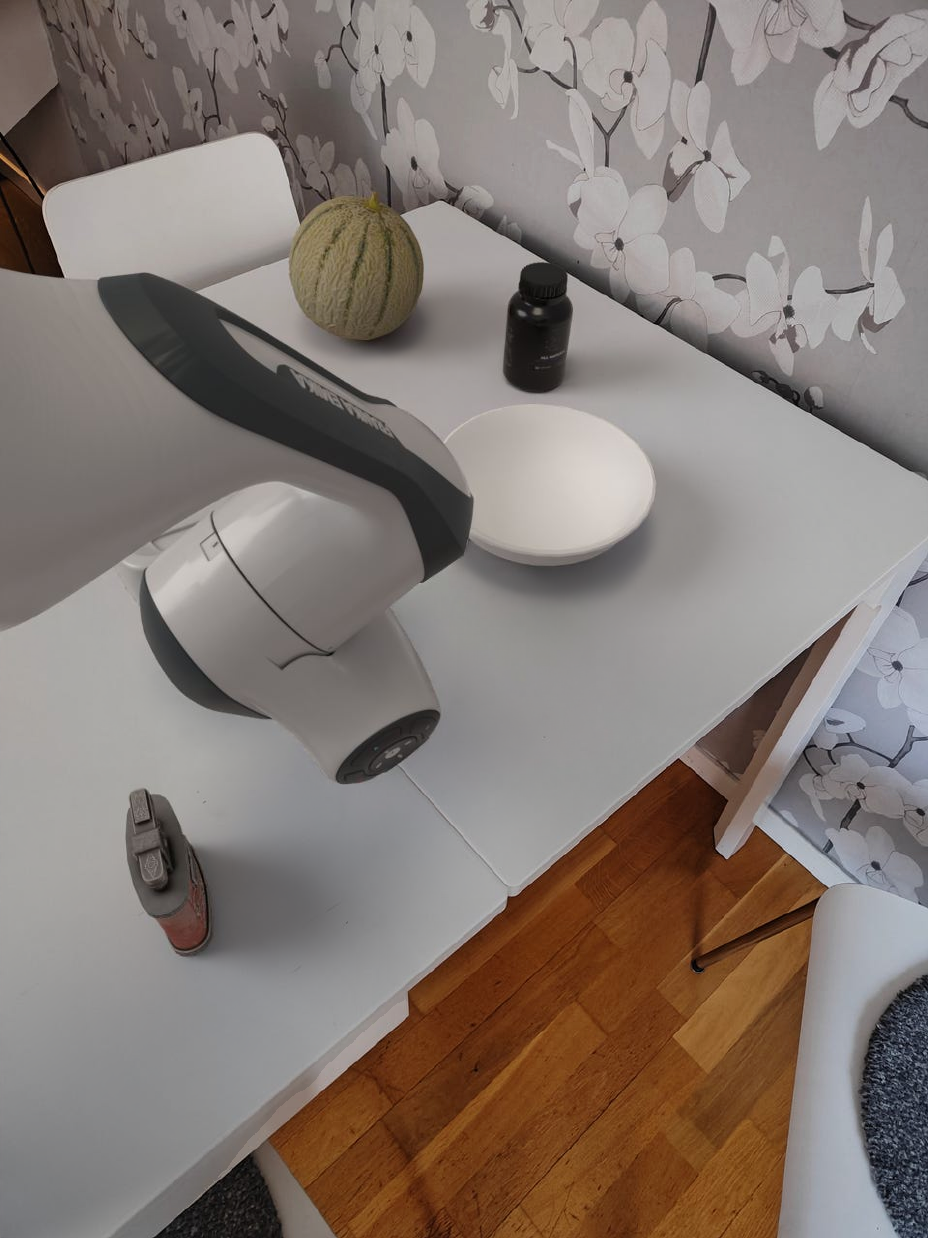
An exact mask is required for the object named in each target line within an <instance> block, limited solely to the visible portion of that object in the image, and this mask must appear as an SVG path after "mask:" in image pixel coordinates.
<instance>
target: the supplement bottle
mask: <svg viewBox="0 0 928 1238" xmlns="http://www.w3.org/2000/svg"><path fill="white" fill-rule="evenodd" d="M568 277H569V275H568V273H567V271H566V270H565V269H564V268H563V267H561V266H560V265H557V264H555V263H552V262H548V261H547V262H545V261H540V262H539V261H538V262H532V263H529V264H526V265H525V266H523V268H522V269H521V271H520V275H519V282H518V287H517V291H515V292H514V293H513V295H511V297H510V298H509V301H508V302H507V311H506V322H505V323H506V324H505V333H504V334H505V335H504V337H505V338H504V349H503V363H502V374H503V375H504V378H505V380H506V381H507V382H508V383H509V384H510V385H511V386H513V387H515V388H516V389H518V390H522V391H526V392H531V393H540V392H546V391H549V390H552V389H554V388H555V387H557V386H558V385H559V384H560V383H561V382H562V381H563V379H564V376H565V371H566V366H567V357H568V350H569V343H570V336H571V330H572V322H573V316H574V306H573V303H572V300H571V299H570V297H569V296H568V295H567V292H568V279H569V278H568Z"/></svg>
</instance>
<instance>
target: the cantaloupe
mask: <svg viewBox="0 0 928 1238" xmlns="http://www.w3.org/2000/svg"><path fill="white" fill-rule="evenodd" d="M424 269H425V266H424V257H423V252H422V249H421V246H420V243H419V240H418V239H417V237H416V235H415V233H414V231H413V230H412V227H411V226H410V225H409V223H408V222H407V221H406V220H405V218H404V217H403V216H402V215H401V214H400V213H399V212H398V211H396V210H395V209H393V208H392V207H390V206H389V205H387V204H386V203H383V202H380V201H379V196H378V193H377V191H375V190H373V191H371V196H370V197H369V196H366V197H365V196H364V197H363V196H354V195H350V194H349V195H342V196H338V197H334V198H332V199H327V200H325V201H323V202H322V203H320V204H318V205H317V206H315V207H314V208H313V209H312V210H311V211H310V212H309V213H308V214H307V215H306V216H305V217H304V219H303V220H302V221H301V223H300V224H299V226H298V228H297V230H296V231H295V234H294V236H293V238H292V243H291V245H290V250H289V253H288V271H289V272H288V277H289V280H290V284H291V287H292V291H293V294H294V298H295V300H296V303H297V304H298V307H299V308H300V309H301V312H302V314H304V315H305V316H306V318H308V319H309V320H311V321H312V322H313V324H314V325H316V326H317V327H319V328H321V329H323V330H324V331H325V332H327V333H329V334H332V335H335V336H337V337H341V338H346V339H347V340H348V339H349V340H362V341H368V340H374V339H377V338H380V337H384V336H386V335H388V334H390V333H392V332H394V331H395V330H397V329H398V328H399V327H400V326H402V324H404V323H405V322H406V320H407V319H408V318H409V316H411V314H412V313H413V311H414V310H415V308H416V306H417V304H418V302H419V299H420V296H421V293H422V291H423V285H424V273H425V271H424Z"/></svg>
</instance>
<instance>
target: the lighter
mask: <svg viewBox="0 0 928 1238" xmlns="http://www.w3.org/2000/svg"><path fill="white" fill-rule="evenodd" d="M128 803H129V807H128V810H127V812H126V820H125V846H126V847H125V849H126V851H125V852H126V860H127V861H126V862H127V866H128V869H129V870H128V871H129V875H130V877H131V882H132V885H133V888H134V890H135V892H136V895H137V897H138V900H139V902H140V905H141V907H142V909H143V910H144V911H145V912H146V914H147V915H148V916H149V917H151V918H152V919H155V920H156V922H157V923H158V924H159V926H160V928H162V931H163V932H164V934H165V937H166V940H167V941H168V944H169V946H170V947H171V949H172V950H173V951H174V952H175V954H177V955H178V956H180V957H185V958H187V957H188V958H189V957H194V956H197V955H199V954H201V953H203V952H204V951H205V950H206V949H207V948H208V947H209V946H210V944H211V942H212V940H213V937H214V936H213V935H214V921H213V919H214V917H213V915H214V914H213V911H214V910H213V905H212V904H213V903H212V897H211V890H210V886H209V883H208V880H207V877H206V873H205V870H204V868H203V866H202V863H201V861H200V859H199V857H198V855H197V852H196V851H195V849H194V847H193V845H192V844H191V843H190V841H189V840H188V838H187V836H186V835H185V834H184V832H183V830H182V826H181V823H180V821H179V820H178V817H177V815H176V813H175V811H174V809H173V807H172V804H171V803H170V801H169V799H168V798H167V797H166V796H163V795H161V794H156V793H150V792H149V789H147V788H146V787H140V788H136V789H134V790H132V791H130V793H129V795H128Z"/></svg>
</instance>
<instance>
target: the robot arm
mask: <svg viewBox="0 0 928 1238" xmlns="http://www.w3.org/2000/svg"><path fill="white" fill-rule="evenodd" d="M443 442H444V441H442V439H440V437H439V436H438V435H437V434H436V433H435V432H434V431H433V430H432V429H431V428H430V427H429V426H428V425H426V424H425V423H424V422H423V421H421V420H420V419H419V418H418V417H416V416H415V415H413V414H412V413H410V412H408V411H406V410H404V409H402V408H399V407H398V406H397V405H396V404H395V403H393V402H392V401H390V400H389V399H386V398H383V397H380V396H375V395H371V394H368V393H365V392H363V391H362V390H360V389H359V388H357V387H355V386H354V385H352V384H350V383H348V382H347V381H345V380H344V379H342V378H340V377H338V376H337V375H336V374H334V373H332V372H331V371H329V370H328V369H326V368H324V367H323V366H321V365H320V364H318V363H317V362H315V361H313V360H312V359H310V358H309V357H307V356H305V355H304V354H303V353H301V352H299V351H298V350H296V349H294V348H293V347H292V346H290V345H288V344H287V343H285V342H283V341H281V340H280V339H278V338H277V337H275V336H273V335H272V334H270V333H268V332H267V331H266V330H263V329H262V328H261V327H260V326H258V325H256V324H254V323H253V322H250V321H248V320H247V319H245V318H244V317H242V316H240V315H239V314H237V313H235V312H233V311H231V310H229V309H227V308H226V307H224V306H222V305H221V304H219V303H217V302H215V301H213V300H212V299H210V298H208V297H206V296H205V295H202V294H200V293H198V292H196V291H194V290H193V289H190V288H187V287H185V286H183V285H182V284H179V283H177V282H175V281H172V280H170V279H167V278H164V277H162V276H159V275H157V274H154V273H151V272H136V273H127V274H119V275H111V276H102V277H99V279H91V278H88V279H87V278H70V277H69V278H68V277H55V276H48V275H47V276H46V275H39V274H32V273H25V272H21V271H17V270H11V269H7V268H2V267H0V633H2V632H4V631H7V630H10V629H12V628H15V627H17V626H19V625H22V624H24V623H26V622H28V621H30V620H32V619H33V618H36V617H38V616H39V615H41V614H43V613H45V612H47V611H48V610H50V609H51V608H53V607H54V606H57V605H58V604H59V603H62V602H63V601H64V600H66V599H67V598H69V597H70V596H72V595H73V594H76V593H77V592H78V591H79V590H81V589H82V588H84V587H86V586H87V585H88V584H90V583H91V582H93V581H95V580H96V579H98V578H99V577H100V576H102V575H104V574H105V573H107V572H108V571H109V570H111V569H112V568H113V569H114V571H115V572H116V574H117V576H118V578H119V580H120V581H121V583H122V584H123V586H124V588H125V589H126V590H127V592H128V593H129V595H130V597H131V598H132V599H133V600H134V601H135V603H136V604H137V605H138V606H139V610H140V619H141V624H142V625H141V626H142V629H143V634H144V637H145V639H146V641H147V643H148V646H149V648H150V650H151V652H152V654H153V656H154V658H155V660H156V661H157V663H158V665H159V667H160V668H161V669H162V671H163V672H164V674H165V675H166V677H167V679H168V680H169V681H170V682H171V683H172V684H173V686H174V687H175V688H176V689H177V690H178V691H179V692H180V693H181V694H182V695H183V696H185V697H186V698H188V699H189V700H190V701H192V702H194V703H195V704H196V705H199V706H201V707H203V708H204V709H207V710H210V711H213V712H218V713H224V714H230V715H236V716H242V717H247V718H251V719H258V720H259V719H260V720H273V721H275V723H277V724H278V725H280V726H281V727H282V728H283V729H285V730H286V731H287V732H288V733H289V734H290V735H291V736H293V738H295V740H296V741H297V742H298V743H299V744H300V745H301V746H302V747H303V749H304V750H305V752H306V753H307V754H308V755H309V757H311V759H312V760H313V762H314V763H315V764H316V766H317V768H319V770H320V771H321V772H322V773H323V774H324V775H325V776H326V777H327V778H328V779H329V780H330V781H332V782H334V783H336V784H339V785H352V784H361V783H365V782H368V781H371V780H374V779H375V778H377V777H378V776H381V775H383V774H385V773H388V772H389V771H391V770H392V769H394V768H395V767H396V766H398V765H399V764H400V763H402V762H403V761H405V760H406V759H407V758H408V757H410V756H411V755H412V754H414V753H415V752H416V751H417V750H419V748H420V747H421V746H423V745H424V744H426V742H427V741H428V740H429V739H430V737H431V736H432V734H433V733H434V731H435V730H436V728H437V726H438V725H439V723H440V720H441V717H442V707H441V704H440V701H439V698H438V695H437V692H436V690H435V687H434V685H433V683H432V680H431V677H430V676H429V674H428V672H427V669H426V667H425V665H424V663H423V661H422V658H421V657H420V655H419V653H418V651H417V649H416V647H415V645H414V643H413V641H412V640H411V638H410V637H409V634H408V633H407V632H406V630H405V628H404V626H403V625H402V623H401V622H400V619H399V618H398V616H397V615H396V613H395V612H394V610H393V609H392V608H391V607H392V606H393V605H394V604H395V603H396V602H397V601H399V600H401V598H403V597H404V596H405V595H407V593H409V592H410V591H411V590H413V589H414V588H415V587H417V586H418V585H419V584H424V583H426V582H428V580H430V579H431V578H433V577H434V576H436V575H437V574H439V573H440V572H441V571H443V570H445V569H446V568H448V567H449V566H450V565H452V564H454V563H455V562H456V561H458V560H459V559H461V558H462V557H464V555H465V552H466V548H467V546H468V542H469V533H470V529H471V523H472V516H473V506H474V498H473V496H472V494H471V492H470V490H469V486H468V483H467V480H466V478H465V475H464V473H463V471H462V469H461V468H460V466H459V464H458V462H457V461H456V459H455V458H454V456H453V455H452V453H451V452H450V451H449V449H448V448H447V447H446V446H445V444H444V443H443Z"/></svg>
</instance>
